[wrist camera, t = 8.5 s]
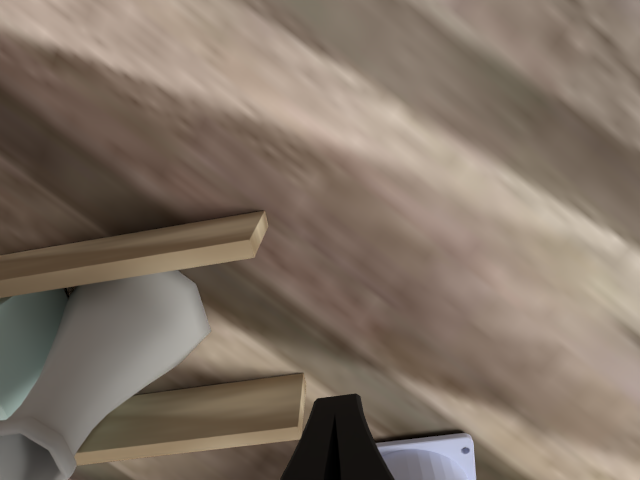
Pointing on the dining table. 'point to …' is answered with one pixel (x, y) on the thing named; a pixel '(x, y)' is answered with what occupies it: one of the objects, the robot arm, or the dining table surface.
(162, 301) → the flask
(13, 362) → the spring plate
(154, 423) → the lane
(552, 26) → the dining table surface
